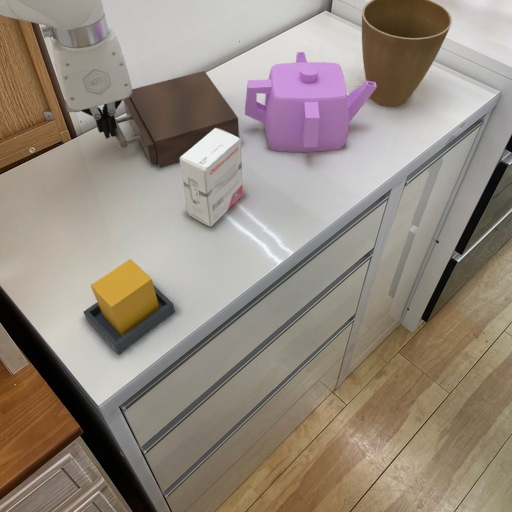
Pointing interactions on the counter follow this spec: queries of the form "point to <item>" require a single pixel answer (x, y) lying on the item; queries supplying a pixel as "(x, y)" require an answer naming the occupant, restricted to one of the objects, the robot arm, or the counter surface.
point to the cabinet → (182, 114)
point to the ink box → (212, 176)
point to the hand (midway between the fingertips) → (108, 132)
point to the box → (126, 296)
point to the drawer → (139, 130)
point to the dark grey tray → (123, 342)
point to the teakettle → (305, 105)
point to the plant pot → (401, 45)
